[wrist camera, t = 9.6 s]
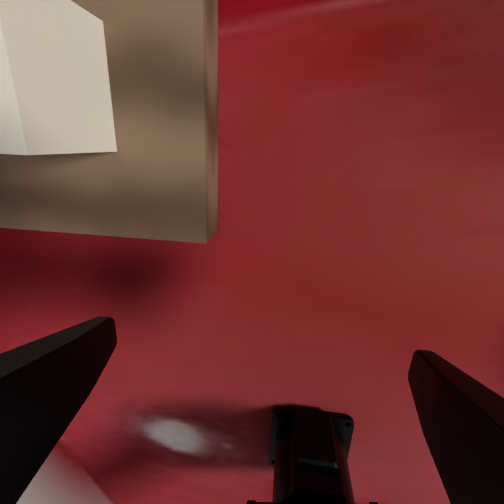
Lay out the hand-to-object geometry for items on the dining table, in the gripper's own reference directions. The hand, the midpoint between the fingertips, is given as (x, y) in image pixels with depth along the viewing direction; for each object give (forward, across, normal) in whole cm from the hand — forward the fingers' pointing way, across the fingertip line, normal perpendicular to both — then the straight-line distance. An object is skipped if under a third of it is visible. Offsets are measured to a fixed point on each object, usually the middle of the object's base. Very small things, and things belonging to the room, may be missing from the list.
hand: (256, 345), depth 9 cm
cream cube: (+9, +12, -8) cm, 17 cm away
